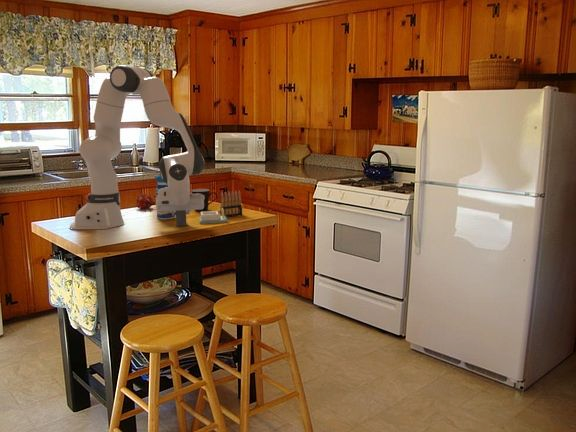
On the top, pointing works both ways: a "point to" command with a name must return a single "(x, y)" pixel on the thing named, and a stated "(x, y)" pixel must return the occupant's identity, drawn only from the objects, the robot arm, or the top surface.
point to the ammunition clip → (231, 204)
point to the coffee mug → (206, 194)
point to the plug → (181, 218)
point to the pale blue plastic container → (212, 217)
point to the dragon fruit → (144, 201)
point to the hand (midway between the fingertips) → (180, 213)
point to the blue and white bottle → (161, 184)
